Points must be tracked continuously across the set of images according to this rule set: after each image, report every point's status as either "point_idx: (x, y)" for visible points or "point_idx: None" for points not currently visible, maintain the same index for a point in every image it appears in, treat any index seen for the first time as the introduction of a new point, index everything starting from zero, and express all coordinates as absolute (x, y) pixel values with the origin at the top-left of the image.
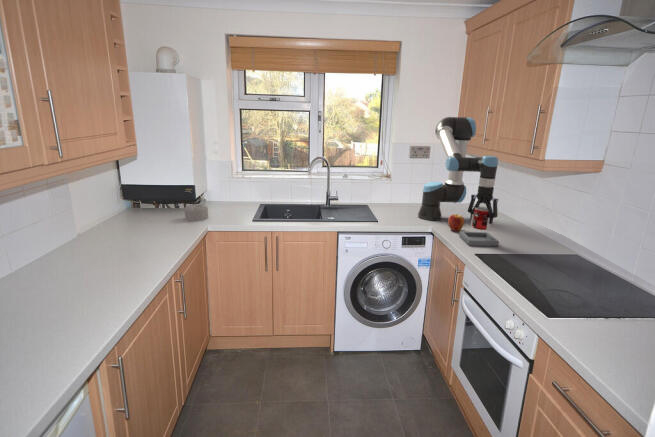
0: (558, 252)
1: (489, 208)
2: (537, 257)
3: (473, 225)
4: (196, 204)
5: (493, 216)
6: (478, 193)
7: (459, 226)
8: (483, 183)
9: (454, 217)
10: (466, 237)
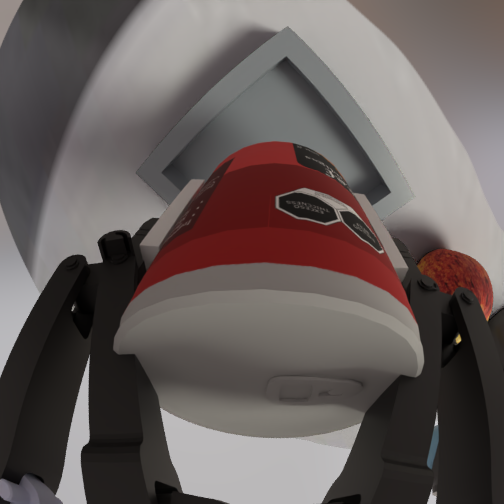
0: (42, 275)
1: (91, 378)
2: (25, 176)
3: (332, 165)
4: None
5: (81, 267)
6: None
7: (429, 267)
8: None
9: (480, 295)
10: (334, 77)
